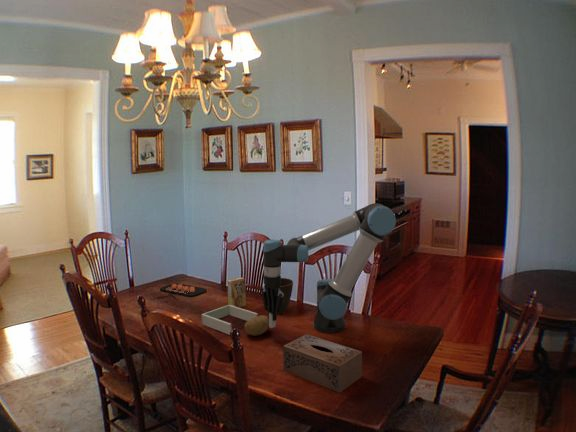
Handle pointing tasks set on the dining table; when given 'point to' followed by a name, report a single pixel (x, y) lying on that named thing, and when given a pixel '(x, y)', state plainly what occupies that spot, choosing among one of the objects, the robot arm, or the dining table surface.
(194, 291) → the sushi plate
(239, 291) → the candy box
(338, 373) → the tissue box cover
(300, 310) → the dining table surface
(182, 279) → the dining table surface
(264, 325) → the potato
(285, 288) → the plant pot
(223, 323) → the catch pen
